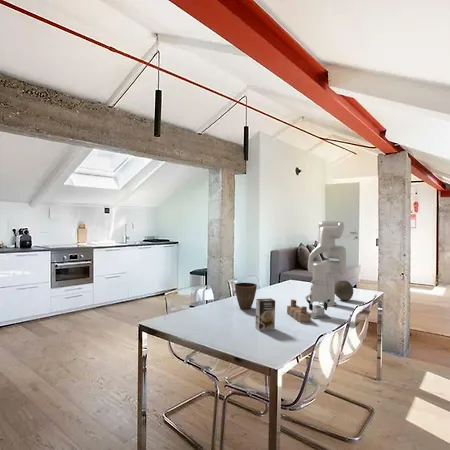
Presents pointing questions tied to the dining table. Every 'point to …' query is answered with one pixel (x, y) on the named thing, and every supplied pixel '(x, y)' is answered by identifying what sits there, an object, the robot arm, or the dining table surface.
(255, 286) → the plant pot
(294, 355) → the dining table surface
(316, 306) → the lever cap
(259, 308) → the coffee box
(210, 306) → the dining table surface
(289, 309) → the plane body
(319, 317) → the rubber mat
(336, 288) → the cantaloupe
